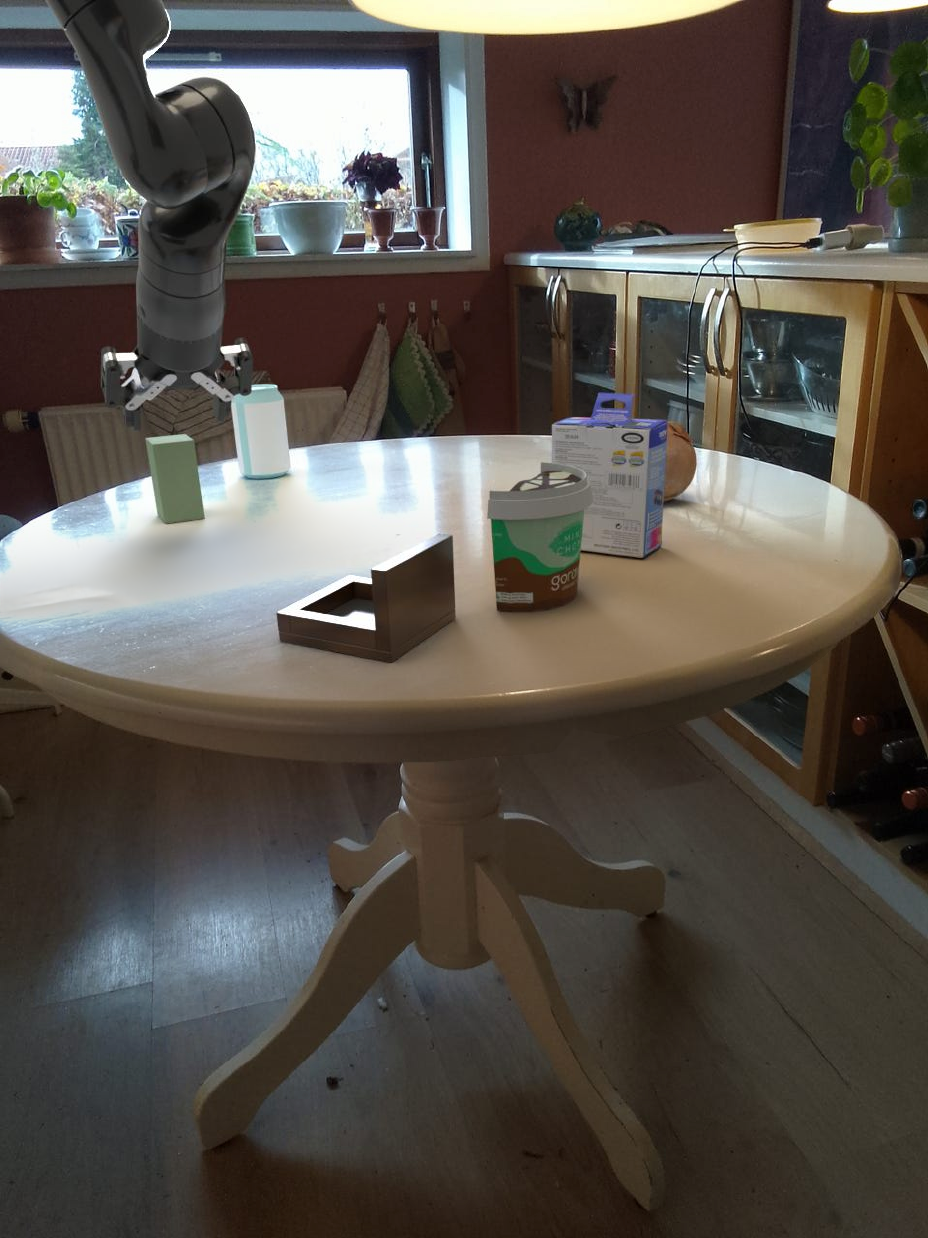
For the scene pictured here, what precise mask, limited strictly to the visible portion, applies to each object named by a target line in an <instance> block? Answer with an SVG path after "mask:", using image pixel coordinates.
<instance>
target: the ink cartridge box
mask: <svg viewBox="0 0 928 1238" xmlns="http://www.w3.org/2000/svg"><path fill="white" fill-rule="evenodd" d="M634 398H635V393H618V392H617V393H616V392H598V393H597V397H596V400H595V404H594V406H593V410H592V414H591V416H590V417H582V416H581V417H578V416H574V417H572V416H571V417H567V418H564V419H561V420H559V421H556V422H554V423H552V424H551V463H557V464H563V465H568V466H573V467H576V468H579V469H581V470H583V471H584V472H585V473H586V475H587V479H588V480H589V482H590V486H591V491H592V496H593V503H592V504H591V505H590V506H589V507H587V508H585V509H584V520H583V531H582V542H581V551H583V552H590V553H591V552H592V553H599V554H600V553H601V554H608V555H616V556H623V557H631V558H632V557H633V558H638V559H641V558H645V557H646V556H648V555H650V554H651V553H652V552H654V551H655V550H657V549H659V548H660V547H662V543H663V541H662V540H663V520H664V519H663V518H664V502H663V501H664V483H665V464H666V444H667V422H668V419H650V418H649V419H648V418H632V411H633V410H632V409H633V404H634ZM611 401H618V402H620V403H623V404H624V405H625V407H624V408H614V407H613V408H612V407H602V404H604V403H606V402H611Z"/></svg>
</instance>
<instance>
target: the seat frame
mask: <svg viewBox="0 0 928 1238" xmlns="http://www.w3.org/2000/svg"><path fill="white" fill-rule="evenodd" d="M454 561H455V559H454V537H453V534H445V533H438V534H436V535H434V536H432V537H431V538H430V537H429V538H428V539H427V540H425V541H423V542H421V543H419V544H416V545H415V546H413V547H411V548H409V549H407V550H405V551H403V552H401V553H400V554H397V555H396V556H394V557H392V558H390V559H388V560H386V561H384V562H382V563H380V564H378V565H376V566H374V567H372V568H371V569H370V577H371V578H368V577H362V576H356V575H347V576H346V577H344V578H343V577H342V579H339V580H338V581H336V582H334V583H332V584H330V585H328V586H326V587H324V588H322V589H320V590H318V591H315V592H314V593H311V594H310V595H308V596H306V597H304V598H302V599H301V600H298V601H297V602H295V603H292V604H290V605H288V606H287V607H285V608H282V609H281V610H279V611H277V612H276V613H275V614H276V615H275V616H276V622H277V631H278V639H279V641H280V642H285V643H288V644H293V645H298V646H299V645H300V646H305V647H308V648H309V647H310V648H314V649H320V650H325V651H330V652H334V653H340V654H345V655H351V656H355V657H360V658H366V659H369V660H374V661H375V660H376V661H381V662H387V663H393V662H394V661H396V660H397V659H399V658H401V657H402V656H403V655H405V654H406V653H407V652H409V651H410V650H412V649H414V648H415V647H416V646H418V645H419V644H420V643H422V642H423V641H425V640H426V639H427V638H429V637H431V636H432V635H434V634H435V633H436V632H438V631H439V630H441V629H442V628H444V627H445V626H446V625H448V624H449V623H450V622H452V621H453V620H455V619H456V590H455V589H456V588H455V587H456V586H455V585H456V584H455V563H454Z"/></svg>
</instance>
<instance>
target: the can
mask: <svg viewBox="0 0 928 1238" xmlns="http://www.w3.org/2000/svg"><path fill="white" fill-rule="evenodd" d="M231 416H232V424H233V433H234V438H235V447H236V456H237V463H238V465H237V466H238V471H239V473H240V474H241V475H242V476H243V475H244V476H245V477H246V478H248V479H255V480H256V479H257V480H261V479H263V480H264V479H273V478H278V477H282V476H284V475H286V473H287V472H288V471H290V469H291V457H290V449H289V447H290V446H289V439H288V438H289V437H288V428H287V427H288V426H287V419H286V418H287V417H286V409H285V399H284V396H283V395H282V394H281V393H280V391H279V390H278V385H276V384H252V391H251V393H250V394H249V395H247V396H242V395H241V394H237V395H235V396H234V398H233V399H232V402H231Z"/></svg>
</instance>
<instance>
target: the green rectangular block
mask: <svg viewBox="0 0 928 1238" xmlns="http://www.w3.org/2000/svg"><path fill="white" fill-rule="evenodd" d="M145 444H146V450H147V451H146V453H147V458H148V464H149V471H150V476H151V482H152V489H153V495H154V501H155V508H156V513H157V516H158V515H159V516H158V517H159V518H160V520H161V519H162V520H161V521H162V523H164V524H165V523H166V524H165V525H168V524H167V523H169V524H174V523H175V522H176V523H181V522H188V521H196V520H203V519H206V517H205V508H204V502H203V495H202V489H201V488H202V487H201V480H200V474H199V466H198V460H197V451H196V445H195V439H193V438H192V437H190V436H188V435H187V434H186V433H183V434H172V435H162V436H153V437H145Z"/></svg>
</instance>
